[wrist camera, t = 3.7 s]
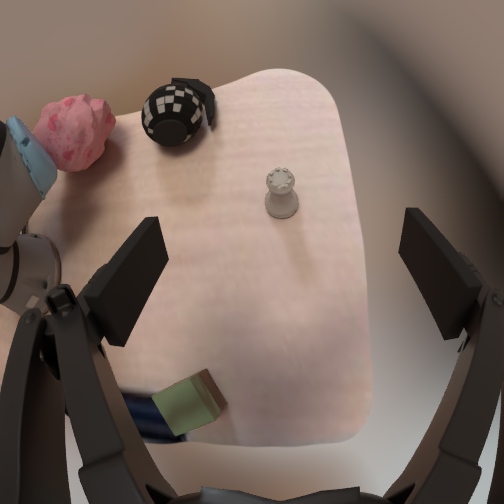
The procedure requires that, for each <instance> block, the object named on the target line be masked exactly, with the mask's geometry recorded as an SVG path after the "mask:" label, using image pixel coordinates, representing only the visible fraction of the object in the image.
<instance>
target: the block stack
mask: <svg viewBox="0 0 504 504" xmlns="http://www.w3.org/2000/svg"><path fill="white" fill-rule="evenodd" d="M151 397H152V399H153V400H154V402H155V404H156V406H157V407H158V409H159V411H160V412H161V414H162V416H163V417H164V419H165V421H166V422H167V424H168V426H169V427H170V429H171V430H172V432H173V434H174V435H175V436H178V435H180V434H183V433H186V432H188V431H191V430H194V429H196V428H199V427H201V426H204V425H206V424H208V423H211V422H213V421H215V420H216V418H217V417H218V416H219V414H220V413H221V412H222V410H223V409H224V408H225V406H226V405H227V402H226V401H225V399H224V397H223V396H222V394H221V392H220V391H219V389H218V387H217V386H216V384H215V382H214V381H213V379H212V377H211V375H210V374H209V372H208V370H207V369H204V370H202V371H200V372H198V373H196V374H194V375H192V376H190V377H188V378H186V379H184V380H182V381H180V382H178V383H175V384H173V385H171V386H170V387H168V388H166V389H164V390H162V391H160V392H158V393H156V394H154V395H152V396H151Z"/></svg>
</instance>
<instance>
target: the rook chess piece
mask: <svg viewBox="0 0 504 504" xmlns="http://www.w3.org/2000/svg"><path fill="white" fill-rule="evenodd" d="M266 184H267V187H268V188H269V191H268V193H267V194H266V198H265V206H266V209H267V211H268V212H269V213H270V214H271V215H272V216H274V217H276V218H286V217H290V216H291V215H292V214H294V213H295V211H296V210H297V208H298V198H297V194H296V193H295V191H294V190H293V189H292V188H293V186H294V184H295V179H294V176H293V174H292V173H291V172H290V171H288V169H286V168H284V169H281V168H280V167H278V168H275V170H273V171H271V172H270V173H269V174H268V176H267V179H266Z"/></svg>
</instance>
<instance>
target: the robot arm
mask: <svg viewBox="0 0 504 504" xmlns="http://www.w3.org/2000/svg"><path fill="white" fill-rule="evenodd" d="M56 179H57V168H56V165H55V163H54V162H53V160H52V159H51V157H50V156H49V154H48V153H47V152H46V150H45V149H44V148H43V146H42V145H41V144H40V143H39V141H38V140H37V139H36V137H35V136H34V135H33V134H32V133H31V131H30V130H29V129H28V128H27V127H26V125H24V123H23V122H22V121H21V120H20V119H18V118H17V117H16V116H12V117H11V118H10V119H7V121H6V124H4V123H3V122H1V121H0V304H2V305H4V306H6V307H7V308H9V309H11V310H12V311H14V312H16V313H18V314H19V315H21V317H20V319H19V322H18V325H17V328H16V331H15V334H14V338H13V341H12V345H11V348H10V352H9V356H8V360H7V364H6V368H5V372H4V377H3V381H2V386H1V392H0V504H71V498H70V490H69V482H68V473H67V461H66V447H65V401H66V405H67V410H68V414H69V418H70V421H71V425H72V429H73V432H74V436H75V439H76V443H77V446H78V449H79V452H80V455H81V458H82V461H83V467H81V468H80V469H79V471H78V475H79V479H80V482H81V485H82V487H83V490H84V492H85V495H86V497H87V500H88V502H89V504H468V502H469V500H470V499H471V496H472V494H473V492H474V490H475V488H476V486H477V484H478V482H479V479H480V476H481V471H482V470H481V469H482V468H481V467H480V466H478V461H479V458H480V455H481V452H482V450H483V447H484V445H485V441H486V439H487V436H488V433H489V430H490V427H491V424H492V420H493V417H494V414H495V410H496V406H497V403H498V399H499V395H500V390H501V415H500V430H499V439H498V448H497V455H496V461H495V468H494V473H493V478H492V483H491V487H490V491H489V495H488V500H487V504H504V291H502V290H500V289H496V288H494V289H492V288H491V287H490V285H489V284H488V283H487V281H486V280H485V279H484V277H483V276H482V275H481V273H480V272H478V269H477V268H476V267H475V266H474V265H473V263H472V262H471V261H470V260H469V258H468V257H466V256H465V255H463V254H462V253H461V252H457V251H456V250H455V249H454V248H453V246H452V245H451V244H450V243H449V241H448V240H447V239H446V238H445V237H444V236H443V234H441V232H440V231H439V230H438V229H437V228H436V227H435V225H434V224H433V223H432V222H431V221H430V220H429V219H428V218H427V217H426V216H425V215H424V213H423V212H421V210H420V209H419V208H406V211H405V218H404V224H403V230H402V235H401V241H400V246H399V252H398V253H399V254H400V256H401V258H402V259H403V261H404V263H405V265H406V266H407V268H408V270H409V272H410V273H411V275H412V277H413V279H414V281H415V282H416V284H417V286H418V288H419V290H420V292H421V294H422V296H423V298H424V299H425V301H426V303H427V305H428V307H429V309H430V311H431V313H432V315H433V317H434V319H435V321H436V323H437V326H438V328H439V330H440V332H441V334H442V336H443V339H444V340H449V339H454V338H458V337H459V336H460V334H461V332H462V330H463V328H465V330H466V332H467V335H466V337H465V339H464V341H463V343H462V344H461V346H460V348H459V350H458V352H460V354H459V357H458V360H457V363H456V366H455V368H454V371H453V373H452V376H451V379H450V381H449V384H448V386H447V389H446V391H445V394H444V396H443V398H442V401H441V403H440V405H439V407H438V409H437V411H436V413H435V415H434V418H433V420H432V422H431V424H430V426H429V428H428V430H427V432H426V433H425V435H424V437H423V439H422V441H421V443H420V445H419V447H418V448H417V450H416V452H415V453H414V455H413V457H412V458H411V460H410V462H409V463H408V465H407V467H406V468H405V470H404V471H403V473H402V474H401V475H400V477H399V478H398V479H397V480H396V481H395V482H394V483H393V484H392V486H391V487H390V488H389V489H388V491H387V492H386V493H385V494H384V496H383V497H380V496H377V495H374V494H369V493H363V492H360V487H352V488H345V489H336V490H325V491H319V492H316V493H312V494H309V495H305V496H301V497H297V498H293V499H289V500H285V501H276V500H271V499H267V498H263V497H260V496H256V495H252V494H249V493H245V492H242V491H236V490H224V489H216V488H208V487H201V492H198V493H191V494H187V495H183V496H180V497H178V495H177V494H176V492H175V491H174V489H173V488H172V487H171V486H170V484H169V483H168V482H167V481H166V480H165V479H164V477H163V476H162V475H161V473H160V471H159V470H158V468H157V466H156V465H155V463H154V461H153V459H152V457H151V456H150V454H149V452H148V450H147V448H146V446H145V445H144V442H143V440H142V438H141V436H140V434H139V432H138V430H137V428H136V426H135V424H134V422H133V420H132V417H131V415H130V413H129V411H128V409H127V406H126V404H125V402H124V399H123V397H122V394H121V392H120V390H119V387H118V385H117V382H116V380H115V377H114V374H113V372H112V369H111V366H110V363H109V361H108V358H107V355H106V352H105V349H104V347H103V345H102V343H101V341H102V339H103V337H104V336H105V338H106V340H107V341H108V343H109V345H113V346H120V347H124V346H125V344H126V342H127V340H128V338H129V336H130V334H131V332H132V330H133V328H134V326H135V324H136V322H137V320H138V318H139V316H140V314H141V312H142V310H143V308H144V306H145V304H146V302H147V300H148V298H149V296H150V294H151V292H152V290H153V288H154V286H155V284H156V283H157V281H158V279H159V277H160V275H161V273H162V271H163V269H164V268H165V266H166V264H167V262H168V260H169V258H168V254H167V251H166V247H165V243H164V239H163V235H162V231H161V227H160V223H159V219H158V216H157V217H145V218H144V220H143V221H142V222H141V223H140V224H139V225H138V227H137V228H136V229H135V230H134V231H133V233H132V234H131V235H130V236H129V237H128V239H127V240H126V241H125V242H124V243H123V245H122V246H121V247H120V248H119V250H118V251H117V252H116V253H115V254H114V256H113V257H112V258H111V260H110V261H109V262H108V263H107V264H105V265H103V266H102V267H101V268H99V269H98V270H97V271H96V272H95V274H94V275H93V276H92V278H91V279H90V280H89V281H88V284H86V285H85V287H84V288H83V289H82V291H81V292H80V293H79V295H78V296H77V298H76V297H75V295H74V293H73V291H72V289H71V287H70V285H68V284H61V285H59V284H60V275H61V267H60V259H59V254H58V251H57V249H56V247H55V245H54V243H53V242H52V241H51V240H50V239H49V238H47V237H45V236H43V235H40V234H26V225H25V224H26V223H27V221H28V220H29V218H30V217H31V216H32V214H33V213H34V211H35V210H36V208H37V207H38V206H39V204H40V203H41V201H42V200H44V199H45V195H46V194H47V192H48V191H49V189H50V188H51V187H52V185H53V184H54V182H55V181H56ZM21 231H22V234H20V232H21ZM49 310H50V312H51V313H52V315H47V316H44V315H45V314H46V313H47V312H48V311H49ZM40 356H41V358H40Z"/></svg>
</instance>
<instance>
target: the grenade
mask: <svg viewBox="0 0 504 504" xmlns="http://www.w3.org/2000/svg"><path fill="white" fill-rule="evenodd" d="M214 98H215V95H214V93H213V91H212V90H211V88H210V87H209V86H208V85H206V84H204V83H202V82H201V81H199V79H186V78H172V82H171V84H168V85H165V86H162V87H159V88H158V89H157V90H155V91H154V92H153V93H152V94H151V95H150V96H149V98H148V99H147V100H146V102H145V104H144V107H143V109H142V116H141V118H142V125H143V128H144V130H145V132H146V134H147V135H148V136H149V137H150V138H151V139H152V140H153V141H155V142H156V143H158V144H160V145H162V146H166V147H173V146H177V145H180V144H182V143H184V142H186V141H188V140H189V139H190V138H192V137H193V136H194V135H195V133H196V132H197V131H198V129H199V128H200V125H201V122H202V118H203V107H202V103H201V102H203V103H204V104H205V109H206V115H207V120H208V125H209V126H211V123H212V119H213V110H214Z"/></svg>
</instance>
